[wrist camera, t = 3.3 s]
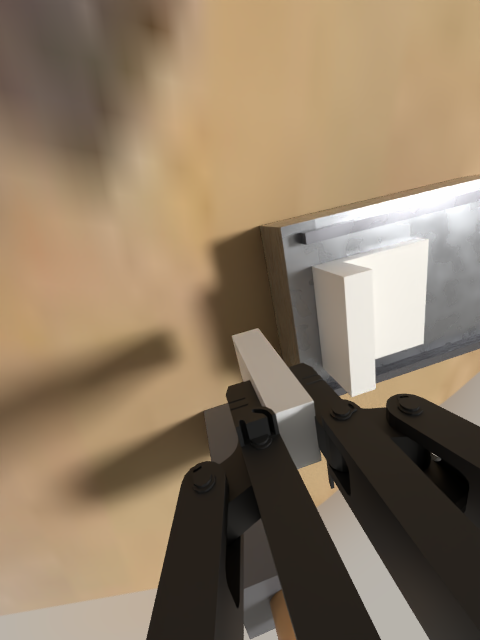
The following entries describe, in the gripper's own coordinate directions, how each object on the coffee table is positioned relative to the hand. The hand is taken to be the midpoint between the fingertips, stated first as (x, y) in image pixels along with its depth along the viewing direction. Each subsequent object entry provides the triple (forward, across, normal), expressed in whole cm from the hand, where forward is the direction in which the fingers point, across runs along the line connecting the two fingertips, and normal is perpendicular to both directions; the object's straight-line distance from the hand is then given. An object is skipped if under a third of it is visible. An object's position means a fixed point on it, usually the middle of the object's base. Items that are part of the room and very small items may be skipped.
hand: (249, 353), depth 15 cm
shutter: (+2, +8, 0) cm, 8 cm away
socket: (+6, +10, 0) cm, 12 cm away
